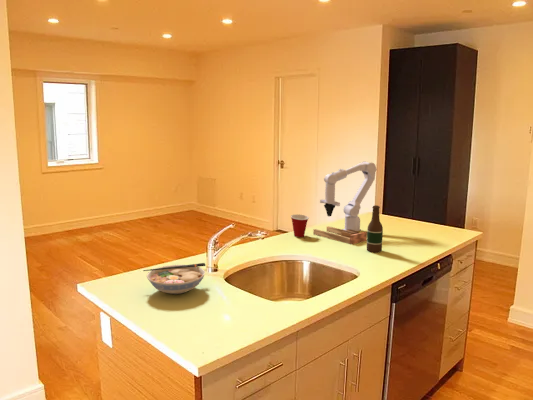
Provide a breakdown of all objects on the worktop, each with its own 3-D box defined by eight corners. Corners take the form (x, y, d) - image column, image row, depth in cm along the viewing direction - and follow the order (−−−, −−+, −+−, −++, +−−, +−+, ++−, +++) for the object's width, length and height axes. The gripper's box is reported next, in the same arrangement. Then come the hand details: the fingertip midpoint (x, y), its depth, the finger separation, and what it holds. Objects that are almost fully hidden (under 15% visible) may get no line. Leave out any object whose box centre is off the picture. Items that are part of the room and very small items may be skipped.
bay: (328, 230, 282) (328, 223, 281) (366, 240, 260) (367, 232, 259) (313, 234, 274) (313, 226, 273) (351, 244, 251) (352, 235, 250)
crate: (349, 237, 265) (349, 228, 264) (358, 240, 260) (359, 231, 259) (341, 239, 261) (341, 230, 260) (350, 242, 256) (350, 233, 255)
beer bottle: (382, 253, 235) (384, 207, 231) (366, 252, 236) (368, 206, 232) (381, 249, 242) (383, 204, 238) (366, 248, 244) (368, 204, 240)
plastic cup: (302, 239, 262) (302, 218, 260) (286, 236, 268) (286, 216, 266) (312, 235, 270) (312, 215, 268) (297, 232, 277) (297, 213, 275)
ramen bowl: (145, 305, 168) (144, 284, 166) (143, 284, 189) (142, 265, 188) (212, 298, 175) (212, 278, 173) (203, 278, 196) (203, 260, 195)
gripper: (316, 193, 278) (316, 215, 281) (334, 196, 267) (333, 218, 270) (324, 192, 283) (324, 213, 285) (342, 195, 272) (341, 217, 274)
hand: (329, 216), depth 278 cm, fingers closed
